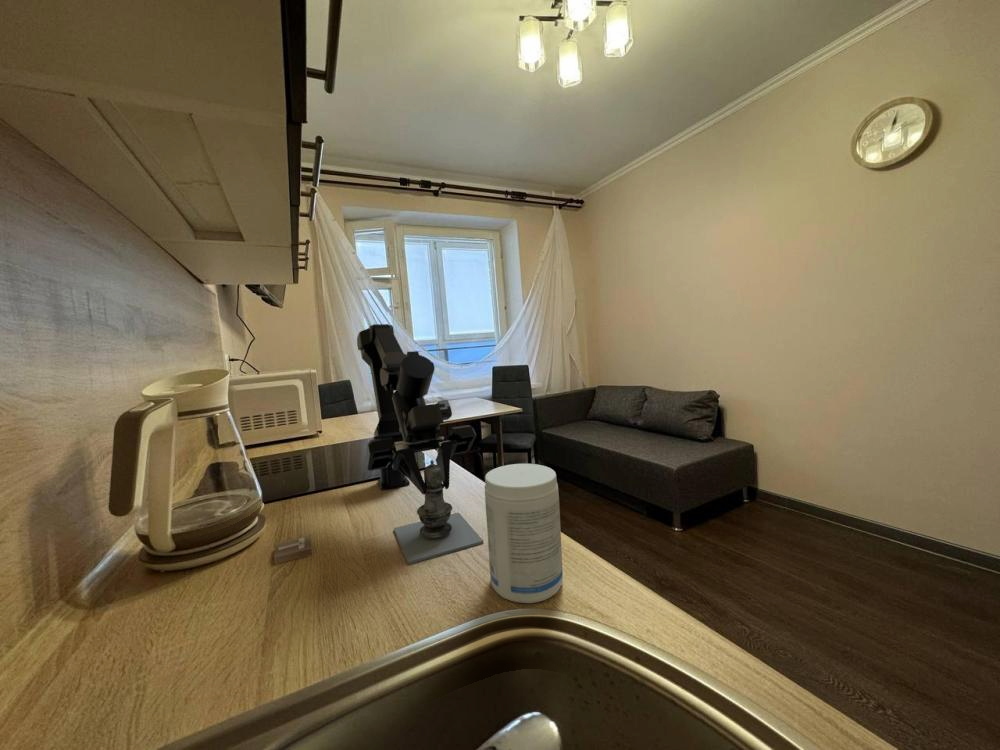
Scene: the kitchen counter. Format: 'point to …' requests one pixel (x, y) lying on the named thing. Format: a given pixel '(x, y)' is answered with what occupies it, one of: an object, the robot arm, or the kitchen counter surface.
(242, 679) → the kitchen counter surface
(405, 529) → the slate mat
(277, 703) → the kitchen counter surface
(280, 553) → the letter tile
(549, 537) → the supplement tub
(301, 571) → the kitchen counter surface
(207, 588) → the kitchen counter surface
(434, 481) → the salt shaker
